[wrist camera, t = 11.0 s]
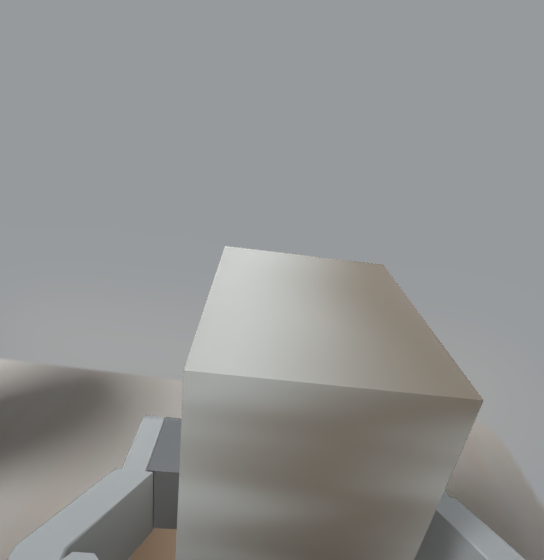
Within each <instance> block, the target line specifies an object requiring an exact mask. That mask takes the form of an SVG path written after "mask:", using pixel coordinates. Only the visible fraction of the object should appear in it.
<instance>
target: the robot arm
mask: <svg viewBox="0 0 544 560" xmlns="http://www.w3.org/2000/svg"><path fill="white" fill-rule="evenodd" d="M181 421H182V419H179V418H171V417H158V416H150V415H146V416H145V417H144V418H143V419H142V422H141V424H140V426H139V429H138V431H137V434H136V436H135V438H134V441H133V443H132V446H131V448H130V450H129V453H128V455H127V458H126V460H125V462H124V465H123V467H122V469H114V470H113V471H112V472H110V473H109V474H108V475H107V476H105V477H104V478H103V479H101V480H100V481H99V482H97V483H96V484H95V485H94V486H92V487H91V488H90V489H88V490H87V491H86V492H84V493H83V494H82V495H81V496H79V497H78V498H77V499H75V500H74V501H73V502H71V503H70V504H69V505H68V506H66V507H65V508H64V509H62V510H61V511H60V512H58V513H57V514H56V515H55V516H53V517H52V518H51V519H49V520H48V521H47V522H45V523H44V524H43V525H42V526H40V527H39V528H38V529H36V530H35V531H34V532H32V533H31V534H30V535H29V536H27V537H26V538H25V539H23V540H22V541H21V542H19V543H18V544H17V545H16V546H15V548H14V549H13V551H12V553H11V555H10V556H9V558H8V560H128V559H129V558H130V556H131V555H132V554H133V553H134V552H135V551H136V549H137V548H138V547H139V546H140V545H141V544H142V542H143V541H144V540H145V539H146V538H147V537H148V535H149V534H150V533H151V532H152V531H153V528H162V529H177V513H178V490H179V467H180V444H181ZM414 560H525V559H524V558H523V557H522V556H521V555H520V554H519V553H517V552H516V551H515V550H514V549H513V548H512V547H511V546H510V545H508V544H507V543H506V542H505V541H504V540H503V539H502V538H500V537H499V536H498V535H497V534H496V533H495V532H494V531H493V530H491V529H490V528H489V527H488V526H487V525H486V524H485V523H483V522H482V521H481V520H480V519H479V518H478V517H477V516H476V515H474V514H473V513H472V512H471V511H470V510H469V509H468V508H466V507H465V506H464V505H463V504H462V503H461V502H460V501H459V500H457V499H456V498H453V497H449V495H448V493H447V491H446V489H445V490H444V492H443V495H442V497H441V499H440V502H439V504H438V506H437V509H436V511H435V513H434V515H433V518H432V520H431V522H430V525H429V527H428V529H427V532H426V534H425V536H424V538H423V541H422V543H421V545H420V548H419V550H418V552H417V555H416V557H415V559H414Z"/></svg>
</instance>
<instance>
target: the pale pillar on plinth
mask: <svg viewBox="0 0 544 560" xmlns="http://www.w3.org/2000/svg"><path fill="white" fill-rule="evenodd" d="M482 403H483V399H482V398H481V396H480V395H479V394H478V392H477V391H476V390H475V388H474V387H473V386H472V384H471V383H470V381H469V380H468V379H467V377H466V376H465V375H464V373H463V372H462V371H461V369H460V368H459V367H458V365H457V364H456V363H455V361H454V360H453V358H452V357H451V356H450V354H449V353H448V352H447V350H446V349H445V348H444V346H443V345H442V344H441V342H440V341H439V340H438V338H437V337H436V336H435V334H434V333H433V331H432V330H431V329H430V328H429V326H428V325H427V323H426V322H425V320H424V319H423V318H422V316H421V315H420V314H419V313H418V311H417V310H416V308H415V307H414V306H413V304H412V303H411V302H410V301H409V299H408V298H407V296H406V295H405V293H404V292H403V291H402V289H401V288H400V287H399V286H398V284H397V283H396V281H395V280H394V279H393V277H392V276H391V275H390V273H389V272H388V270H387V269H386V268H385V266H384V265H381V264H372V263H364V262H356V261H347V260H339V259H330V258H321V257H313V256H305V255H297V254H288V253H280V252H271V251H263V250H254V249H245V248H237V247H229V246H225V248H224V251H223V254H222V257H221V260H220V263H219V266H218V269H217V272H216V275H215V278H214V281H213V284H212V287H211V290H210V293H209V296H208V299H207V302H206V305H205V308H204V311H203V314H202V317H201V320H200V323H199V326H198V329H197V332H196V335H195V338H194V341H193V344H192V347H191V350H190V353H189V356H188V359H187V362H186V365H185V368H184V376H183V398H182V421H181V444H180V467H179V490H178V513H177V529H162V528H153V531H152V532H151V533H150V534H149V535H148V537H147V538H146V539H145V540H144V541H143V542H142V544H141V545H140V546H139V547H138V548H137V549H136V551H135V552H134V553H133V554H132V555H131V558H130V560H414V559H415V557H416V555H417V552H418V550H419V548H420V545H421V543H422V541H423V538H424V536H425V534H426V532H427V529H428V527H429V525H430V522H431V520H432V518H433V515H434V513H435V511H436V509H437V506H438V504H439V502H440V499H441V497H442V495H443V492H444V490H445V488H446V486H447V483H448V481H449V479H450V476H451V474H452V472H453V469H454V467H455V465H456V463H457V460H458V458H459V456H460V453H461V451H462V449H463V446H464V444H465V442H466V440H467V437H468V435H469V433H470V430H471V428H472V426H473V423H474V421H475V419H476V417H477V414H478V412H479V410H480V407H481V405H482Z"/></svg>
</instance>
